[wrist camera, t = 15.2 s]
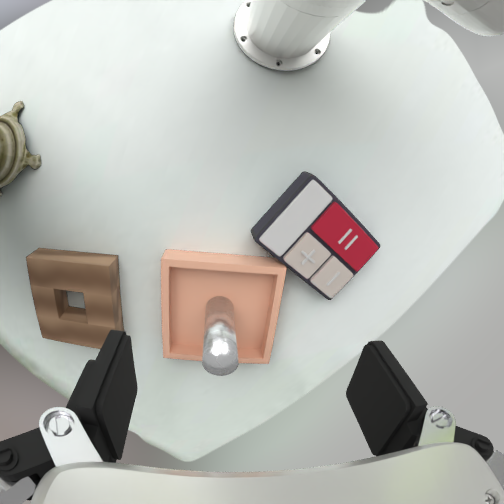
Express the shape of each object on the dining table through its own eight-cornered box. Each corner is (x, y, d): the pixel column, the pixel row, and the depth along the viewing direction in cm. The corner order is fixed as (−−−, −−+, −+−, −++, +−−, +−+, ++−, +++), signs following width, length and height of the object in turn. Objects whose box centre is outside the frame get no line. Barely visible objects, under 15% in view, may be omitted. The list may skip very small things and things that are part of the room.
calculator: (331, 304, 42) (253, 241, 37) (321, 290, 46) (249, 230, 41) (384, 248, 40) (314, 174, 35) (370, 237, 44) (304, 169, 39)
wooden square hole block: (38, 247, 38) (26, 257, 35) (118, 255, 40) (109, 266, 36) (52, 324, 43) (42, 337, 39) (124, 336, 45) (118, 351, 41)
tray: (165, 249, 41) (161, 258, 37) (281, 258, 43) (286, 268, 39) (166, 343, 46) (163, 357, 43) (265, 349, 48) (268, 363, 45)
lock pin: (206, 295, 42) (202, 347, 31) (234, 297, 43) (240, 349, 32) (205, 319, 44) (201, 374, 32) (232, 320, 44) (236, 376, 33)
